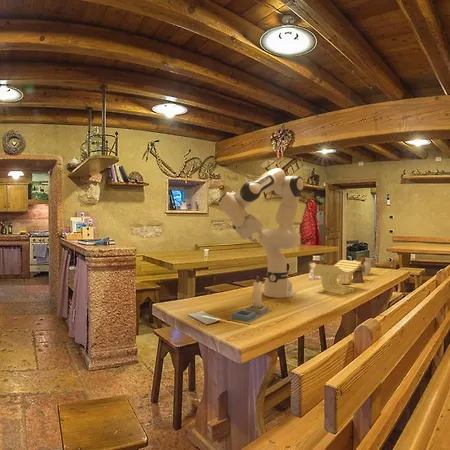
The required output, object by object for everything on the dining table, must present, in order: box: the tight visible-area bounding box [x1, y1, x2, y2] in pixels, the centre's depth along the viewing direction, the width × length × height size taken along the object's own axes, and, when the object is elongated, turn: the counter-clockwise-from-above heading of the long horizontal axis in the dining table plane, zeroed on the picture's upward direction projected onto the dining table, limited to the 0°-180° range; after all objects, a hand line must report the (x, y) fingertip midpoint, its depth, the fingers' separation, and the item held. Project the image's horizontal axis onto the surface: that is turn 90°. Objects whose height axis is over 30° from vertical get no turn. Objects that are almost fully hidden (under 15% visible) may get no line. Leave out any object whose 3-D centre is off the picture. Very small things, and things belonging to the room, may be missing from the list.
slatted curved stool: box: [314, 259, 361, 295], centre depth 234 cm, size 30×16×18 cm, turn 134°
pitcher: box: [352, 257, 375, 277], centre depth 295 cm, size 11×18×14 cm, turn 46°
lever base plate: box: [225, 304, 274, 326], centre depth 175 cm, size 24×12×3 cm, turn 148°
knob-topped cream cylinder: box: [252, 275, 263, 309], centre depth 180 cm, size 4×4×17 cm
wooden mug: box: [351, 255, 366, 284], centre depth 266 cm, size 9×14×18 cm, turn 139°
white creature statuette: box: [308, 262, 322, 281], centre depth 274 cm, size 10×9×12 cm
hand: (259, 240), depth 191 cm, fingers open, 8 cm apart
